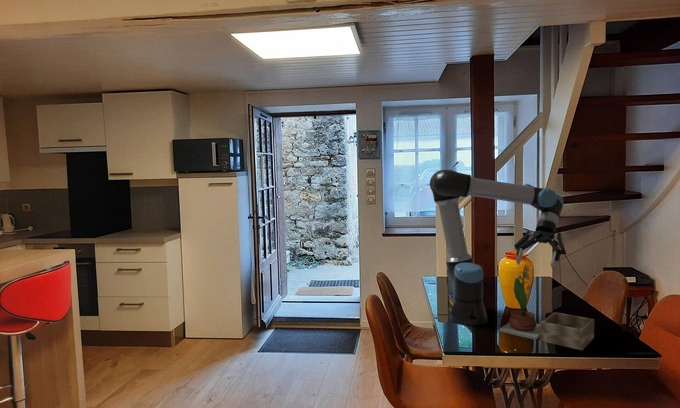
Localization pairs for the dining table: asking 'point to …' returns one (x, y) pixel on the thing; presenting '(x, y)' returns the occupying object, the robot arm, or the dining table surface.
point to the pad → (522, 331)
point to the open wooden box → (567, 330)
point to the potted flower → (522, 306)
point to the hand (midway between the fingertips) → (534, 264)
